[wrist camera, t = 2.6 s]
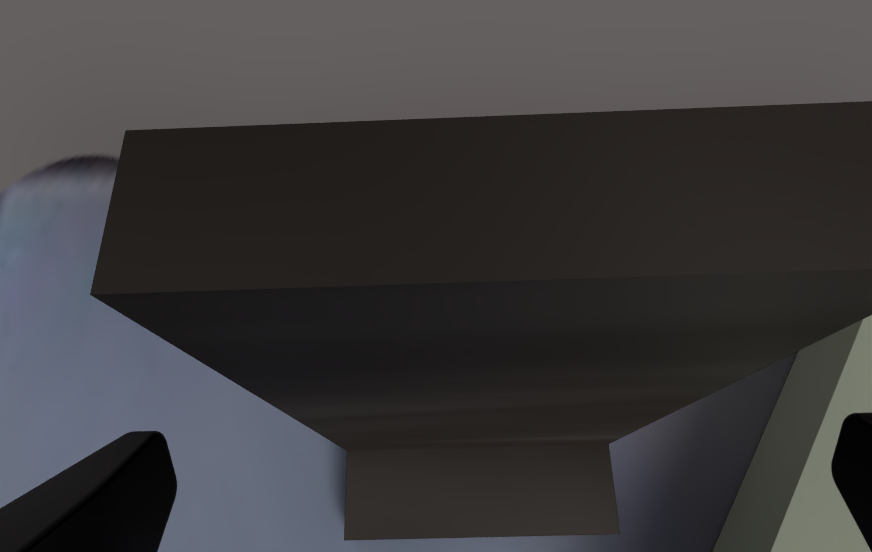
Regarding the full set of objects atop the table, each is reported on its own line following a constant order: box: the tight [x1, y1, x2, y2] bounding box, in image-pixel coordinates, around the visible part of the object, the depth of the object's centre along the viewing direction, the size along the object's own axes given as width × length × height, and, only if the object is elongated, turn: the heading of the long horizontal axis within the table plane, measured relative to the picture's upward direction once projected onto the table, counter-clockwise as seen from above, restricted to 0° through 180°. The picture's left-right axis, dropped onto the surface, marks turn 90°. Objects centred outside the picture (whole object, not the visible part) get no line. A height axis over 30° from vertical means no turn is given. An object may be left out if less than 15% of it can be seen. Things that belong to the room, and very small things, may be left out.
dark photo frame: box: [90, 101, 872, 540], centre depth 11 cm, size 6×7×13 cm
